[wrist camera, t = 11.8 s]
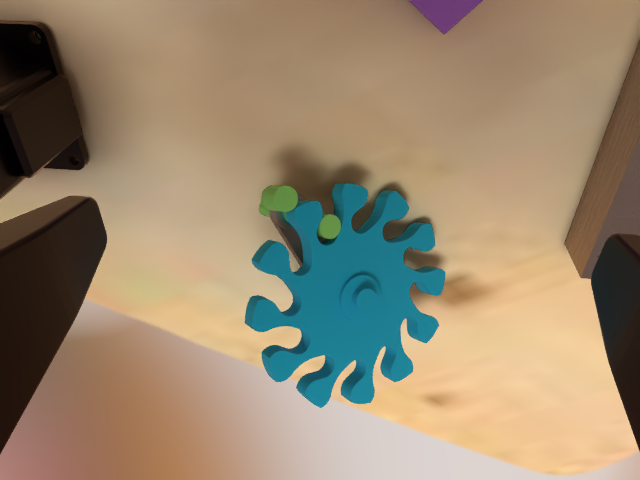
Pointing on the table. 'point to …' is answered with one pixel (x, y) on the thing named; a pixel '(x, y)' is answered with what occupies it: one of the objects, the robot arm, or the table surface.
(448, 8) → the bracket
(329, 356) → the gear
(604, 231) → the slotted square tile
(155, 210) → the table surface
